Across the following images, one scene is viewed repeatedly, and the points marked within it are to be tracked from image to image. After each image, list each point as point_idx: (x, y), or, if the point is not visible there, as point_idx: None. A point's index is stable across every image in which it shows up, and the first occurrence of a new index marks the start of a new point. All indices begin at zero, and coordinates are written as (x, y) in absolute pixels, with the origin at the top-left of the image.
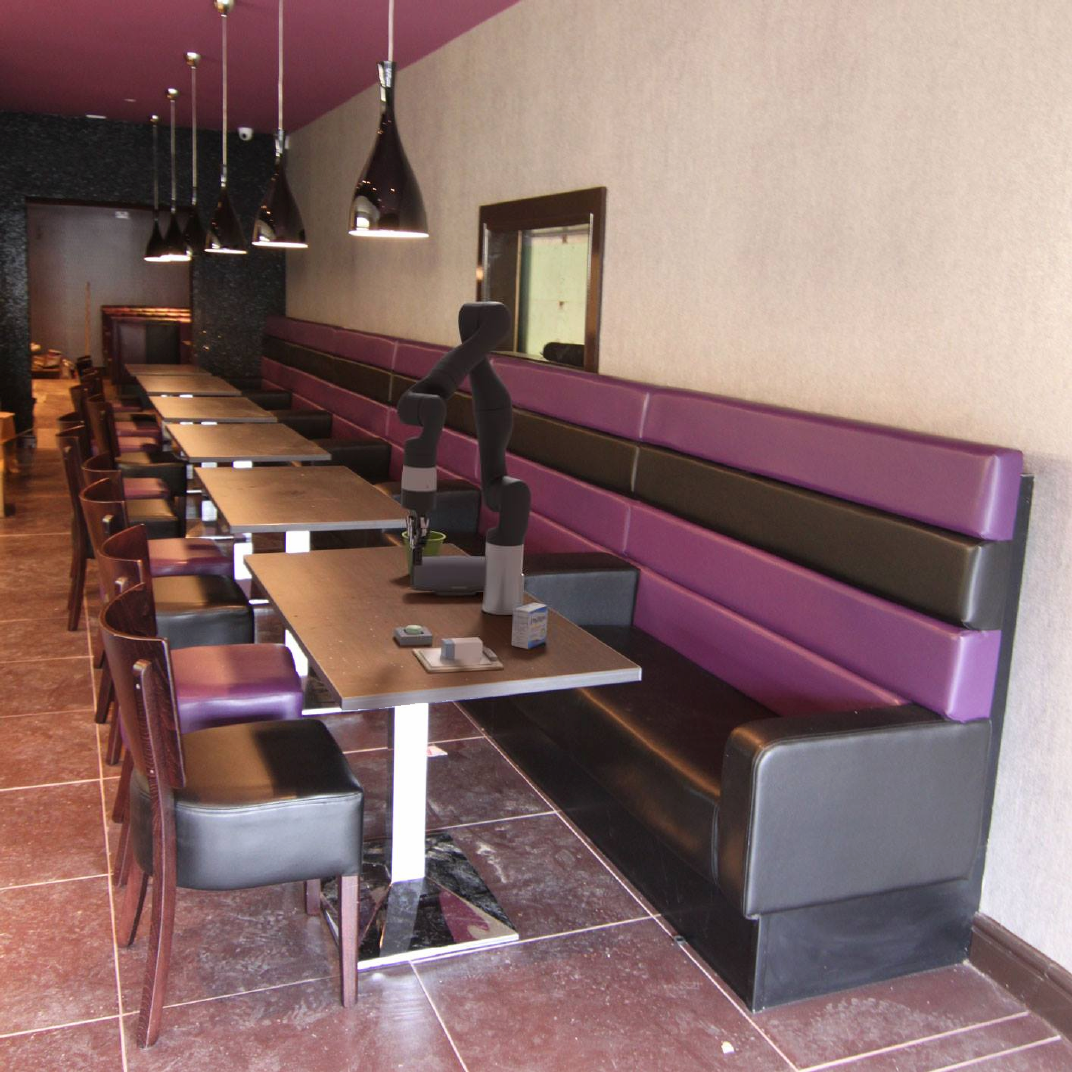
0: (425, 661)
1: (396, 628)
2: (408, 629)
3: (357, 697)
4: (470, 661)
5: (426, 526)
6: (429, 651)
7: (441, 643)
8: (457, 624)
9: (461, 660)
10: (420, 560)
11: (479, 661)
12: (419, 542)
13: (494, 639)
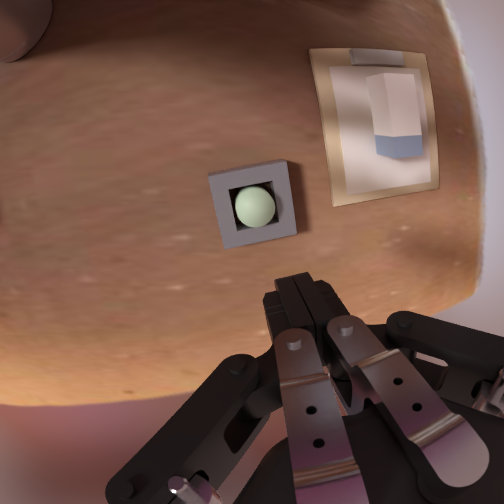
0: (403, 188)
1: (231, 245)
2: (268, 221)
3: (479, 281)
4: None
5: (450, 419)
6: (356, 174)
7: (390, 156)
8: (113, 97)
9: None
10: (332, 290)
11: None
12: (410, 362)
13: (235, 18)
